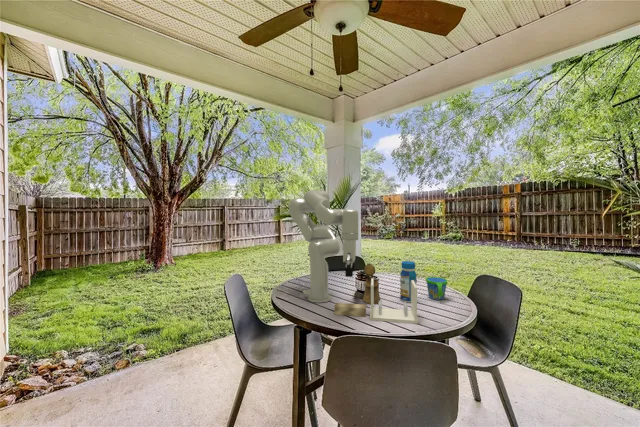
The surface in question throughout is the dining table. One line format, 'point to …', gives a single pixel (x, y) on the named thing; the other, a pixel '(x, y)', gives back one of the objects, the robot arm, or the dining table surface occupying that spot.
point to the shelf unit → (395, 314)
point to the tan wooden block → (350, 309)
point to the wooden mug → (370, 271)
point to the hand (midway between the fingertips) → (350, 273)
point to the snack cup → (436, 287)
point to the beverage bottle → (407, 280)
